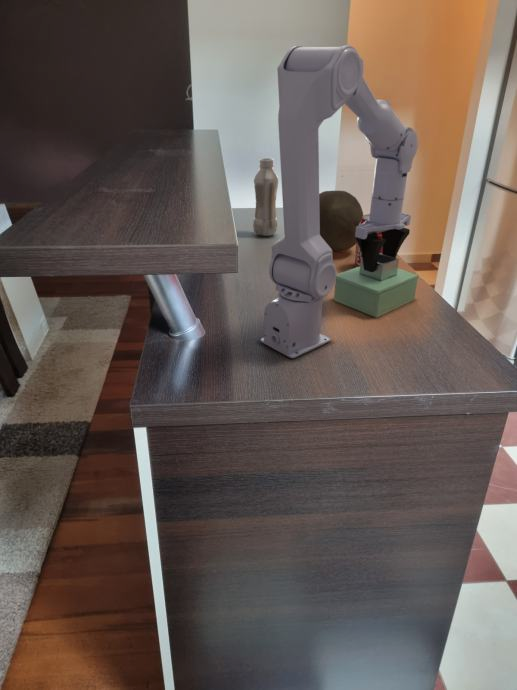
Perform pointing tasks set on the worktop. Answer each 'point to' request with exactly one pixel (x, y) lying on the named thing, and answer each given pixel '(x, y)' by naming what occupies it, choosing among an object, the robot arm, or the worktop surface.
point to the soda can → (358, 251)
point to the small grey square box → (382, 268)
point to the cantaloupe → (339, 219)
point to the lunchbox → (374, 297)
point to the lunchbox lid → (372, 284)
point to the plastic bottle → (265, 198)
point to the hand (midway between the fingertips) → (378, 267)
